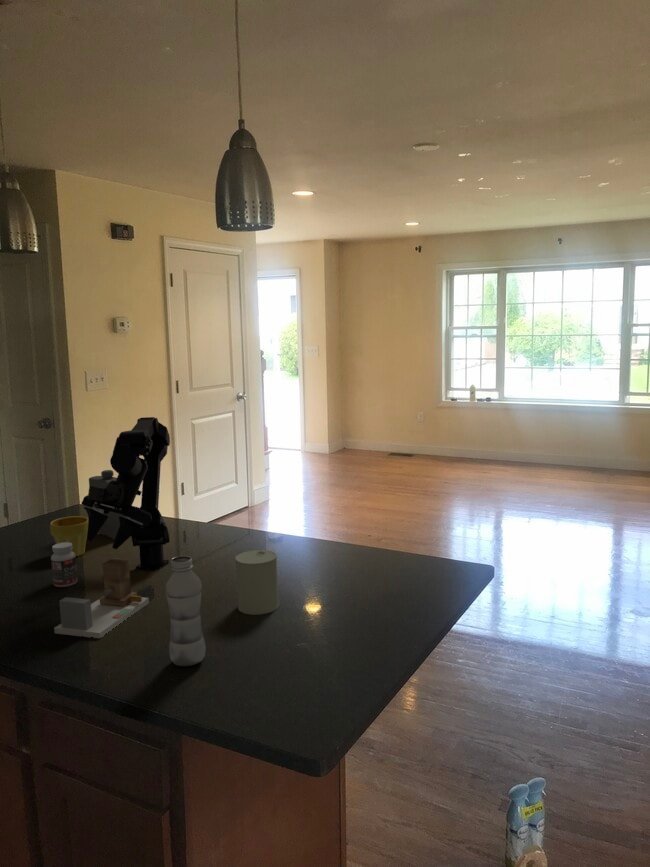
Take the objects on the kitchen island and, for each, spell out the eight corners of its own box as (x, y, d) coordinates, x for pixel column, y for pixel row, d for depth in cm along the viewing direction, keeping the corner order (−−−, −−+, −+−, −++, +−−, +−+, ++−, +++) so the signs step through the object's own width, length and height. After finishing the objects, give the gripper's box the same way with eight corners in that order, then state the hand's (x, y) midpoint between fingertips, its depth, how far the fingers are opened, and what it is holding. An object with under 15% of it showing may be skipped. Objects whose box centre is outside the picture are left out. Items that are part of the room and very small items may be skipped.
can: (285, 600, 154) (283, 549, 152) (269, 616, 145) (266, 563, 143) (248, 596, 157) (245, 546, 155) (230, 612, 148) (227, 559, 146)
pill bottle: (69, 588, 166) (65, 549, 164) (48, 587, 167) (44, 548, 165) (82, 579, 171) (78, 541, 170) (62, 578, 172) (58, 541, 171)
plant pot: (99, 551, 193) (96, 518, 192) (68, 562, 185) (65, 527, 183) (76, 546, 199) (73, 514, 197) (45, 557, 190) (41, 523, 189)
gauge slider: (113, 595, 156) (109, 556, 155) (147, 598, 154) (143, 559, 152) (94, 607, 150) (90, 567, 148) (129, 610, 147) (126, 570, 146)
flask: (133, 536, 207) (128, 472, 204) (117, 541, 203) (111, 475, 200) (107, 528, 217) (101, 466, 214) (90, 532, 212) (84, 470, 209)
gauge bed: (107, 598, 158) (104, 570, 157) (149, 602, 155) (146, 573, 154) (54, 633, 141) (51, 601, 140) (100, 638, 137) (97, 605, 136)
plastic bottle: (172, 655, 129) (164, 554, 126) (208, 652, 130) (201, 552, 127) (167, 672, 123) (159, 566, 120) (205, 669, 123) (198, 564, 120)
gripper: (78, 463, 160) (49, 526, 156) (131, 475, 150) (101, 542, 145) (112, 480, 169) (86, 540, 164) (164, 492, 158) (137, 556, 154)
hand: (101, 544), depth 157 cm, fingers open, 9 cm apart
